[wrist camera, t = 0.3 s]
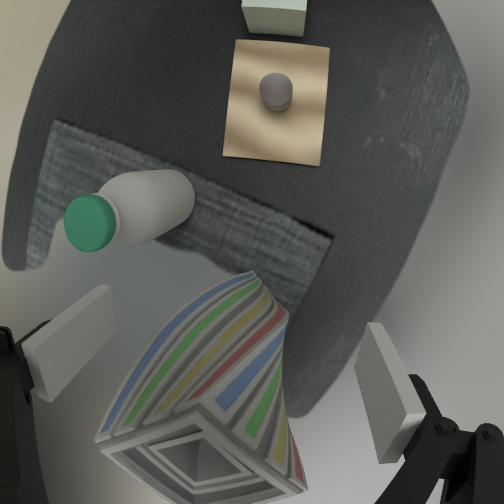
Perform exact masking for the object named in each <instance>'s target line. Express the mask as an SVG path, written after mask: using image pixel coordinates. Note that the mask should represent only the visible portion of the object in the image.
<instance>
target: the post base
mask: <svg viewBox="0 0 504 504" xmlns="http://www.w3.org/2000/svg"><path fill="white" fill-rule="evenodd" d="M329 52H330V48H326V47H319V46H312V45H304V44H295V43H285V42H274V41H259V40H236V44H235V52H234V60H233V68H232V76H231V84H230V93H229V101H228V110H227V119H226V129H225V138H224V148H223V156H230V157H242V158H253V159H263V160H272V161H281V162H289V163H297V164H305V165H313V166H319V165H320V156H321V147H322V137H323V127H324V116H325V105H326V94H327V81H328V67H329Z"/></svg>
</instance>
